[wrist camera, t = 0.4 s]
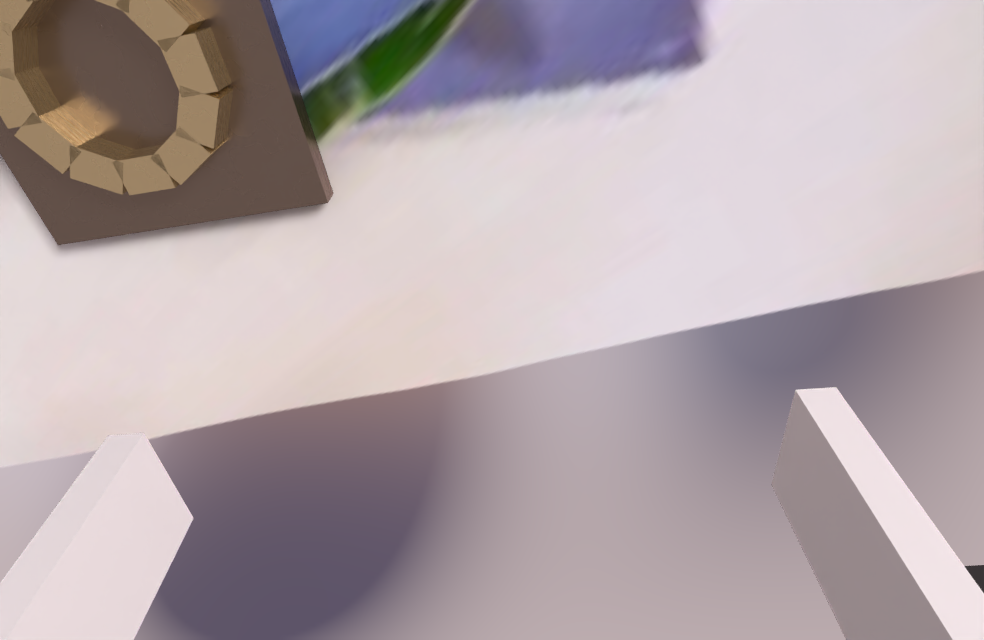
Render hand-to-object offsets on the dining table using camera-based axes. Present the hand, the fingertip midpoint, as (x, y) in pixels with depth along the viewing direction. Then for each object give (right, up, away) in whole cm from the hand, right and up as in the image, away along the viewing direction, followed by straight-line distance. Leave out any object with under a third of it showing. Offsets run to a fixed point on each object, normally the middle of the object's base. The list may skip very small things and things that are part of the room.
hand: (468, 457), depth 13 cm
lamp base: (-20, +17, +21) cm, 34 cm away
